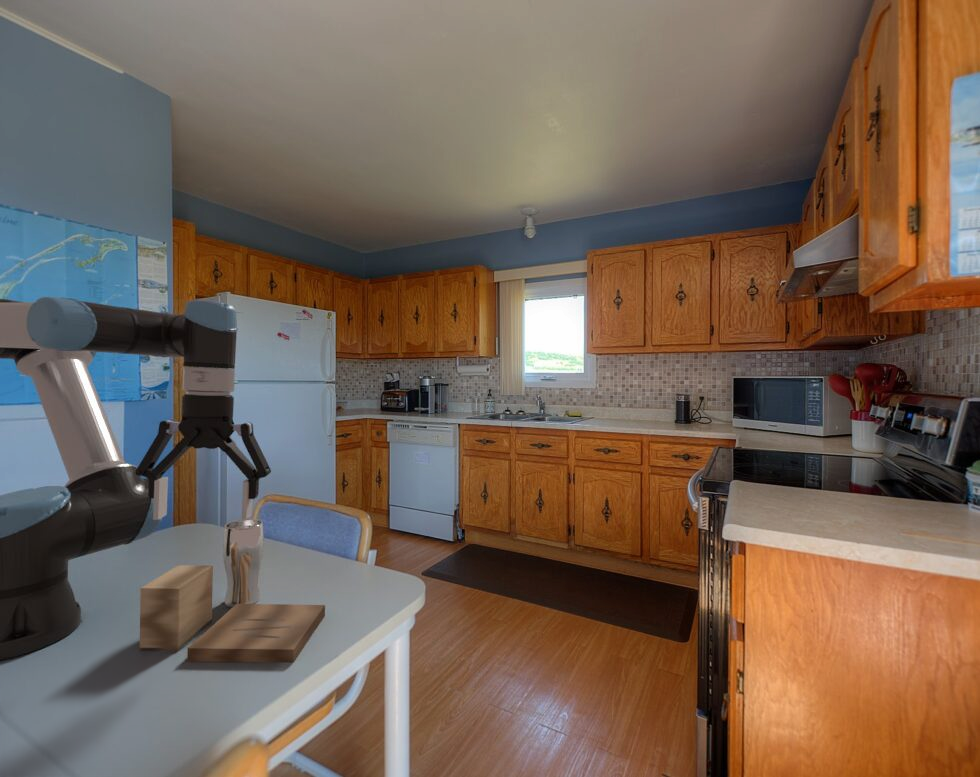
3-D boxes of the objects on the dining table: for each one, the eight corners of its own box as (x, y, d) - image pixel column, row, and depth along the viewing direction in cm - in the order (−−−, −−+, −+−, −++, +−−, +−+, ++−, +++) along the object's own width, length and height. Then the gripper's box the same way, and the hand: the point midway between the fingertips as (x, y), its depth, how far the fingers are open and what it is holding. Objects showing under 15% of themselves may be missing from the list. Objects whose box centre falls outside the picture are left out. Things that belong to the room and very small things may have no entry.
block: (139, 651, 72) (140, 588, 72) (177, 621, 81) (178, 565, 81) (178, 651, 72) (179, 588, 72) (211, 622, 81) (212, 565, 81)
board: (187, 661, 69) (187, 648, 69) (236, 614, 83) (236, 603, 83) (293, 662, 70) (293, 649, 70) (324, 615, 84) (325, 604, 84)
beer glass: (245, 611, 85) (246, 530, 85) (212, 606, 86) (214, 527, 86) (270, 594, 92) (271, 519, 91) (240, 590, 93) (241, 517, 93)
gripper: (112, 390, 72) (107, 524, 73) (280, 397, 76) (275, 524, 77) (140, 389, 79) (135, 510, 80) (291, 395, 84) (287, 510, 84)
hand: (203, 517), depth 78 cm, fingers open, 13 cm apart
